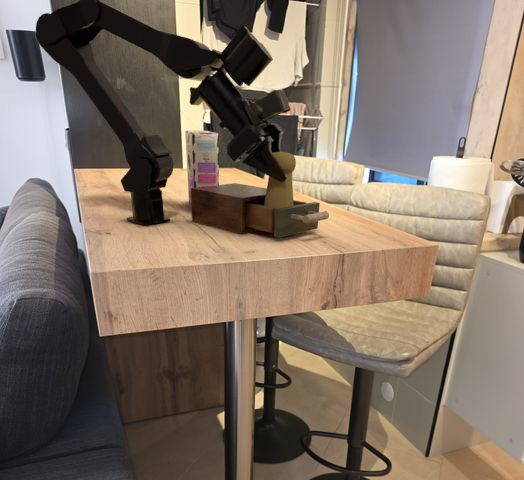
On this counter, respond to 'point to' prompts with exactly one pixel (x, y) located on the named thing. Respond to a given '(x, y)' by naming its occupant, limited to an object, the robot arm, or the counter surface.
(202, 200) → the cabinet
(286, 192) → the cork
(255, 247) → the counter surface
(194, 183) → the candy box
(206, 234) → the counter surface
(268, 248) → the counter surface
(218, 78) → the robot arm
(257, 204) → the drawer
